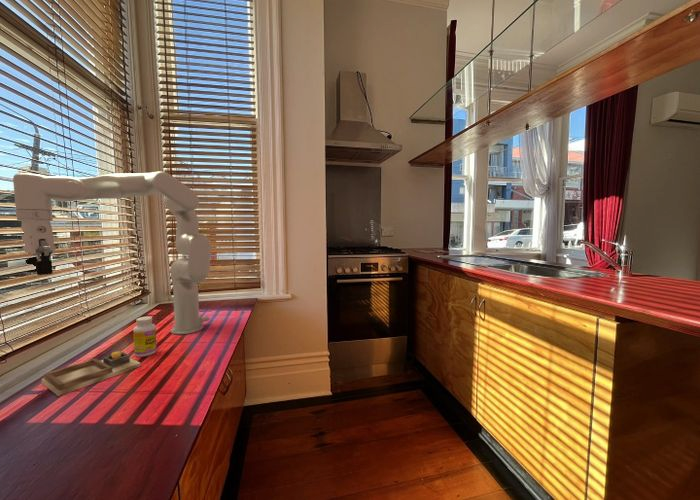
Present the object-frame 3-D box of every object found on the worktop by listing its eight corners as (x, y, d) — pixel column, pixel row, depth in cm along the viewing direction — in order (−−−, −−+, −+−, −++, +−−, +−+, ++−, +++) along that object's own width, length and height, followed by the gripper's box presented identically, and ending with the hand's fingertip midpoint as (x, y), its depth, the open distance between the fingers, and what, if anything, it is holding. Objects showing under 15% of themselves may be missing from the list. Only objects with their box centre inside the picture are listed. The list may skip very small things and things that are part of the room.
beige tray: (121, 357, 104) (121, 347, 104) (140, 366, 98) (140, 356, 97) (41, 383, 87) (40, 371, 87) (58, 396, 80) (57, 383, 80)
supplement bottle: (145, 358, 104) (143, 321, 103) (129, 356, 105) (127, 320, 104) (161, 350, 110) (159, 316, 109) (146, 348, 111) (144, 315, 110)
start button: (119, 358, 99) (118, 350, 99) (122, 359, 98) (122, 352, 97) (110, 361, 97) (110, 353, 97) (114, 362, 96) (113, 354, 95)
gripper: (62, 216, 88) (66, 273, 90) (42, 217, 97) (46, 269, 98) (26, 215, 82) (30, 277, 83) (7, 216, 91) (12, 272, 92)
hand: (39, 273), depth 91 cm, fingers open, 9 cm apart
